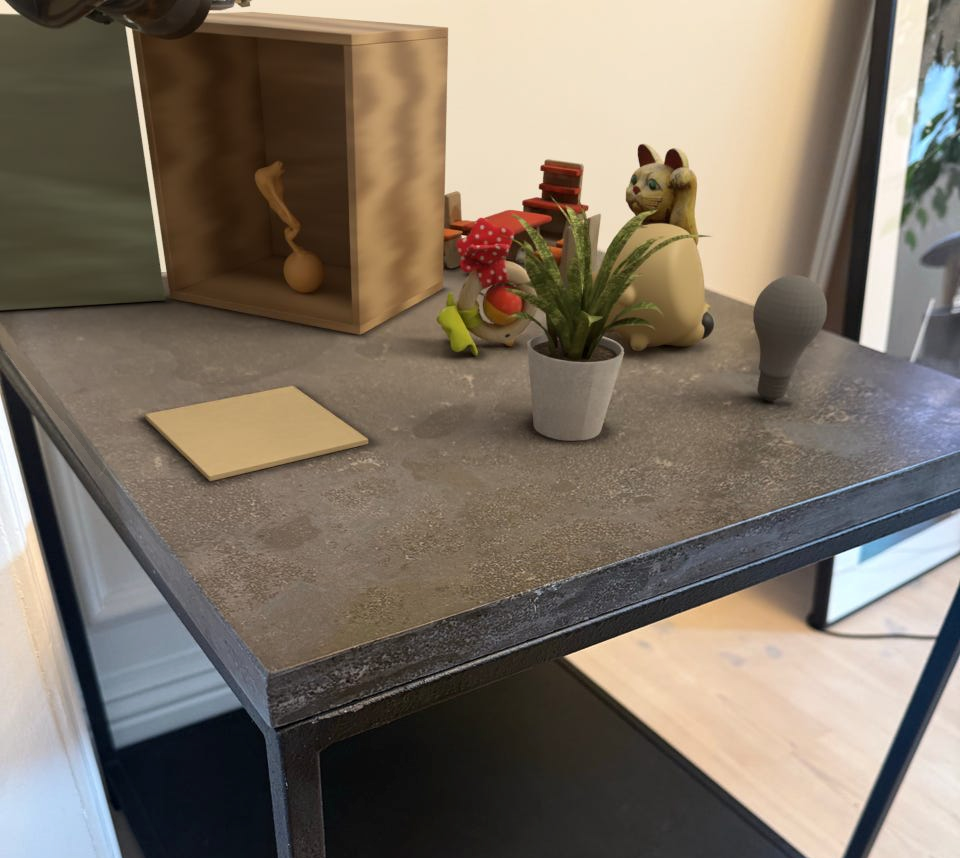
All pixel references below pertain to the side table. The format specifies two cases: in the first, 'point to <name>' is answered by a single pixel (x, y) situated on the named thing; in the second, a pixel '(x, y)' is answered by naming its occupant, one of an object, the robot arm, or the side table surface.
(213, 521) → the side table surface
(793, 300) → the light bulb
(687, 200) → the decorative figurine
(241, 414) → the mat
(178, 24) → the robot arm
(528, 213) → the dollhouse furniture set
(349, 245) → the cupboard
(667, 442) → the side table surface
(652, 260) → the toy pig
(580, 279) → the house plant
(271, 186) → the figurine
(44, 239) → the dark green flat panel
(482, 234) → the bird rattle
